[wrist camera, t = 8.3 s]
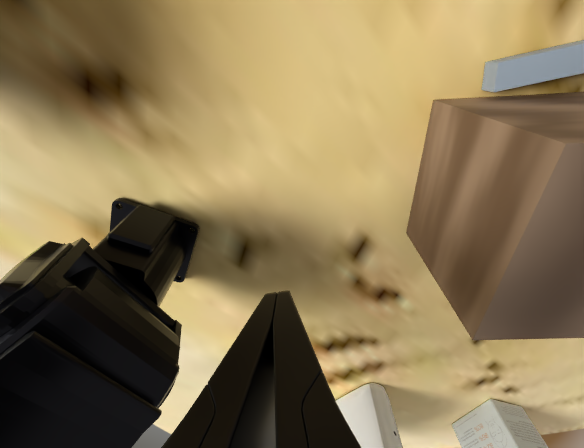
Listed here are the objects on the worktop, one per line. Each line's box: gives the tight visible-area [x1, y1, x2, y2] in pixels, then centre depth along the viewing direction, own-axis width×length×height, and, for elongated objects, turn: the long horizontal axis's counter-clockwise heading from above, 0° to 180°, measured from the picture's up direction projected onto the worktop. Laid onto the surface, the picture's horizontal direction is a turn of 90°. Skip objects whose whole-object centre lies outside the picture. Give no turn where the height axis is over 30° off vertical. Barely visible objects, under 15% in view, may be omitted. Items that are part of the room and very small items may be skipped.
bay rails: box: [482, 40, 584, 92], centre depth 19 cm, size 10×16×1 cm, turn 12°
